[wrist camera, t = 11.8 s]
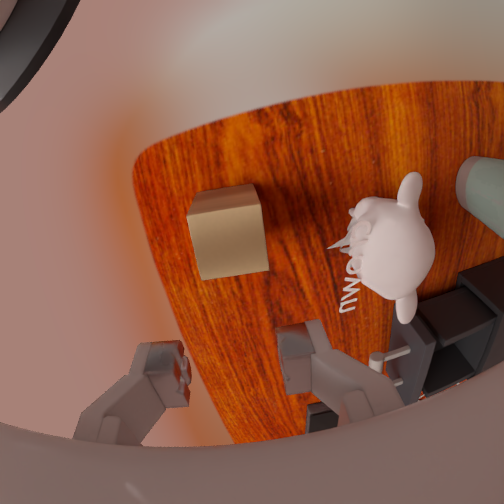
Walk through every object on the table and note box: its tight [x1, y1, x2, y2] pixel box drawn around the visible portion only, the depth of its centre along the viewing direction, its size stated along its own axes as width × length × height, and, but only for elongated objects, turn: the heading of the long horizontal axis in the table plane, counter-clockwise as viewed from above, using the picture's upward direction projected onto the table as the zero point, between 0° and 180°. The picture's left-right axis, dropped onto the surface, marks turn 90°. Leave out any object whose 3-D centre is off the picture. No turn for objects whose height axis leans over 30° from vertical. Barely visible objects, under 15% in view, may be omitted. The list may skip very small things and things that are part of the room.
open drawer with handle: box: [369, 286, 498, 406], centre depth 27 cm, size 15×10×7 cm
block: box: [187, 183, 269, 280], centre depth 21 cm, size 4×4×6 cm
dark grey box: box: [455, 256, 504, 380], centre depth 27 cm, size 12×12×9 cm
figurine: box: [328, 172, 435, 324], centre depth 21 cm, size 12×8×10 cm
